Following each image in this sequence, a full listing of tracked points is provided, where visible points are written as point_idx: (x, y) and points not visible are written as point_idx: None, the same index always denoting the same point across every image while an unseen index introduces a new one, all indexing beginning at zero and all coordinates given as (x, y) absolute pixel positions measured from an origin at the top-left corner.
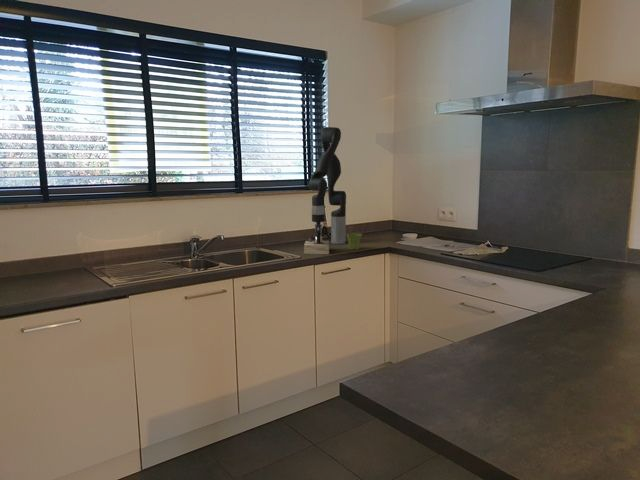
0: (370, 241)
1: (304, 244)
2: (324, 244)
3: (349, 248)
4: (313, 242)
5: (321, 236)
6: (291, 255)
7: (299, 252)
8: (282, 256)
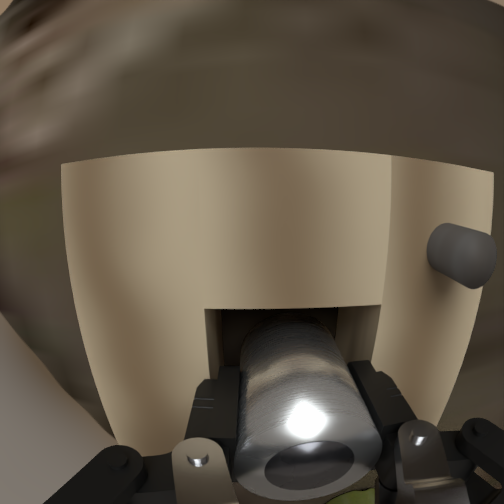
0: (490, 484)
1: (160, 152)
2: (179, 437)
3: (350, 494)
4: (366, 303)
5: (268, 496)
6: (82, 55)
7: (239, 98)
8: (61, 7)
